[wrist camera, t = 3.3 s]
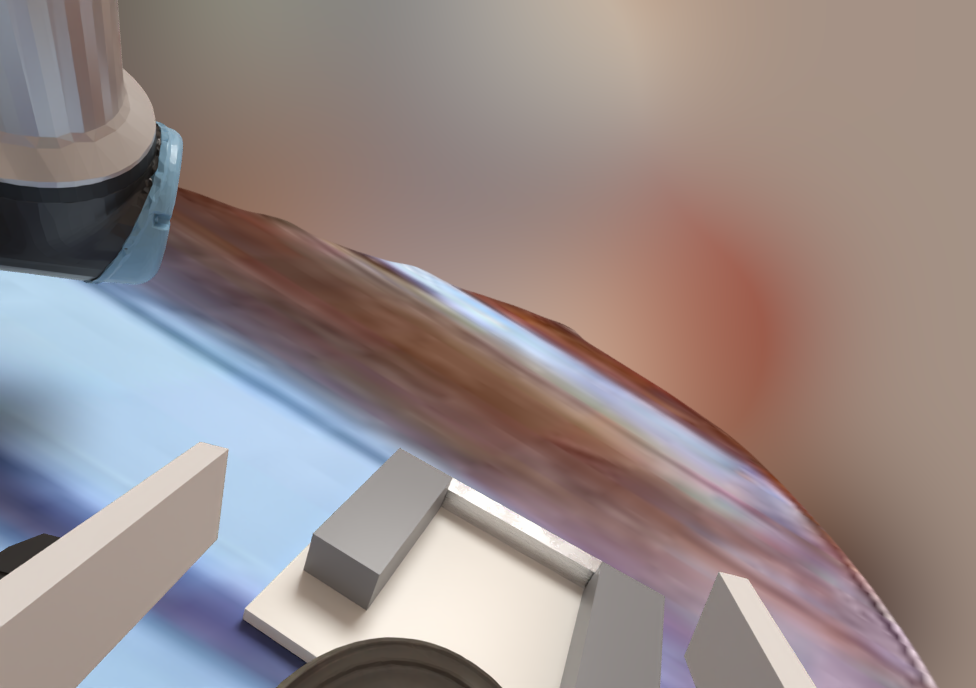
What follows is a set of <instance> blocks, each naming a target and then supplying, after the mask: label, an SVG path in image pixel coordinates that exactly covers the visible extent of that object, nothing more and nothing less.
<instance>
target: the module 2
mask: <svg viewBox="0 0 976 688" xmlns="http://www.w3.org/2000/svg"><path fill="white" fill-rule="evenodd" d="M664 600H665V596H663V595H661V594H659V593H657V592H656V591H654V590H652V589H650V588H649V587H647V586H645V585H643V584H641V583H640V582H638V581H636V580H634V579H632V578H631V577H629V576H627V575H625V574H624V573H622V572H620V571H618V570H616V569H615V568H613V567H611V566H609V565H607V564H606V563H604V562H601V564H600V565H599V567H598V569H597V570H596V572H595V573H594V575H593V576H592V578H591V580H590V581H589V583H588V584H587V586H586V587H585V589H584V591H583V594H582V598H581V602H580V606H579V610H578V614H577V618H576V623H575V627H574V631H573V635H572V639H571V643H570V647H569V651H568V655H567V659H566V663H565V668H564V672H563V676H562V680H561V684H560V688H660V676H661V657H662V638H663V619H664Z"/></svg>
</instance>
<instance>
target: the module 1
mask: <svg viewBox="0 0 976 688" xmlns="http://www.w3.org/2000/svg"><path fill="white" fill-rule="evenodd" d="M451 480H452V477H451V476H449V475H447V474H445V473H443V472H442V471H440V470H438V469H436V468H434V467H433V466H431V465H429V464H427V463H426V462H424V461H422V460H420V459H418V458H417V457H415V456H413V455H411V454H410V453H408V452H406V451H404V450H402V449H401V448H399V449H398V450H397V451H396V452H395V453H394V454H393V455H392V456H391V457H390V458H389V459H388V460H387V461H386V462H385V463H384V464H383V465H382V466H381V467H380V468H379V469H378V470H377V471H376V472H375V473H374V474H373V475H372V476H371V477H370V478H369V479H368V480H367V481H366V482H365V483H364V484H363V485H362V486H361V487H360V488H359V489H358V490H357V491H356V492H355V493H354V494H353V495H352V496H351V497H350V498H349V499H348V500H347V501H346V502H345V503H344V504H342V505H341V506H340V507H339V508H338V509H337V510H336V511H335V512H334V513H333V514H332V515H331V516H330V517H329V518H328V519H327V520H326V521H325V522H324V523H323V524H322V525H321V526H320V527H319V528H318V529H317V530H316V531H315V532H314V533H313V536H312V539H311V543H310V547H309V551H308V554H307V558H306V562H305V566H304V569H303V570H304V571H306V572H307V573H309V574H310V575H312V576H313V577H315V578H316V579H318V580H320V581H321V582H323V583H324V584H326V585H327V586H329V587H331V588H332V589H334V590H335V591H337V592H338V593H340V594H341V595H343V596H345V597H346V598H348V599H349V600H351V601H352V602H354V603H355V604H357V605H359V606H360V607H362V608H363V609H365V610H366V611H367V609H368V608H369V607H370V605H371V604H372V602H373V601H374V600H375V598H376V597H377V596H378V594H379V593H380V591H381V590H382V589H383V587H384V586H385V584H386V583H387V582H388V580H389V579H390V577H391V576H392V575H393V573H394V572H395V570H396V569H397V568H398V566H399V565H400V564H401V562H402V561H403V559H404V558H405V557H406V555H407V554H408V552H409V551H410V550H411V548H412V547H413V545H414V544H415V543H416V541H417V540H418V539H419V537H420V536H421V534H422V533H423V532H424V530H425V529H426V527H427V526H428V525H429V523H430V522H431V520H432V519H433V518H434V516H435V515H436V513H437V512H438V511H439V509H440V507H441V505H442V503H443V500H444V498H445V495H446V493H447V490H448V488H449V485H450V483H451Z"/></svg>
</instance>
